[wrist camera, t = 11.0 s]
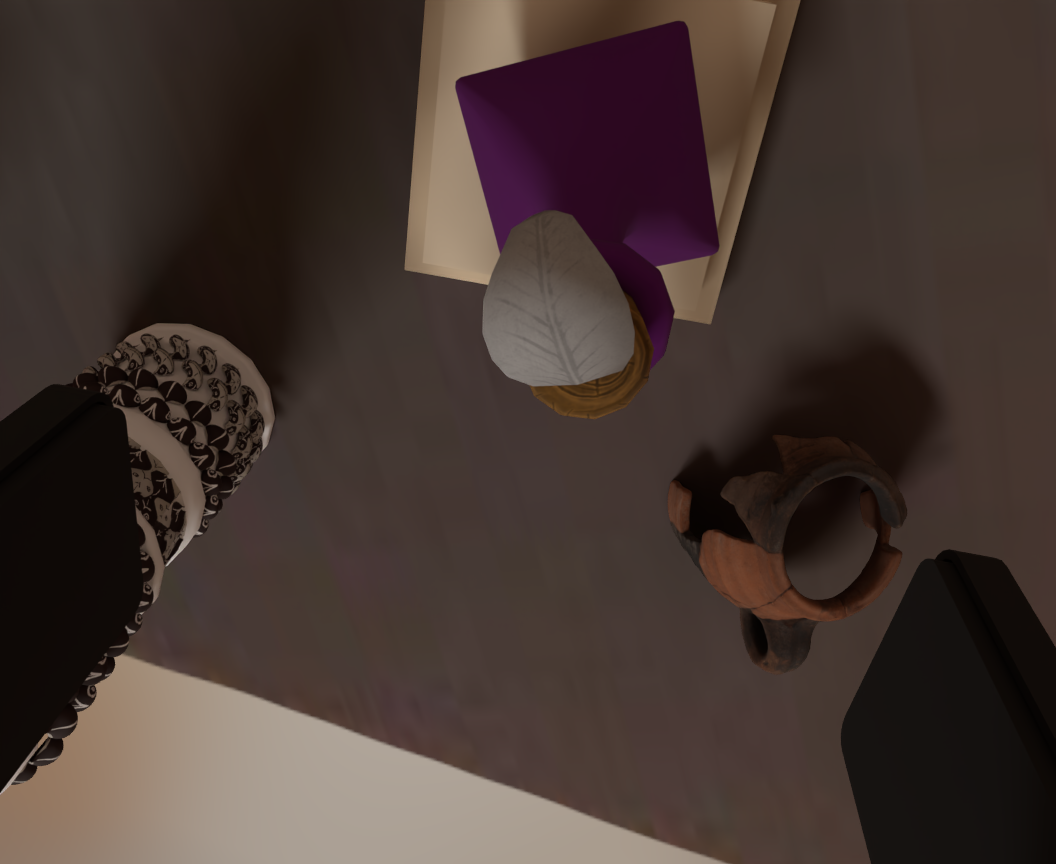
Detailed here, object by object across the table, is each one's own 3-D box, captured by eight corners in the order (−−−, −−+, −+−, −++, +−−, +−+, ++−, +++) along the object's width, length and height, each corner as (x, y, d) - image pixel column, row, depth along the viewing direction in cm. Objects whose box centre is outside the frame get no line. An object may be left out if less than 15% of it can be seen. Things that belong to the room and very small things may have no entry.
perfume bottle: (712, 226, 32) (792, 492, 16) (520, 266, 34) (428, 544, 18) (681, 11, 29) (744, 90, 13) (468, 66, 30) (298, 196, 15)
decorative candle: (285, 334, 40) (-116, 790, 18) (280, 493, 45) (-44, 1006, 23) (95, 295, 40) (-529, 706, 18) (110, 459, 45) (-374, 939, 23)
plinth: (797, -28, 31) (816, -24, 28) (706, 306, 37) (713, 338, 34) (443, -88, 31) (423, -92, 28) (414, 254, 37) (396, 282, 34)
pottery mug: (645, 426, 41) (741, 464, 34) (810, 392, 44) (932, 421, 36) (664, 650, 44) (756, 733, 36) (817, 605, 47) (932, 674, 39)
